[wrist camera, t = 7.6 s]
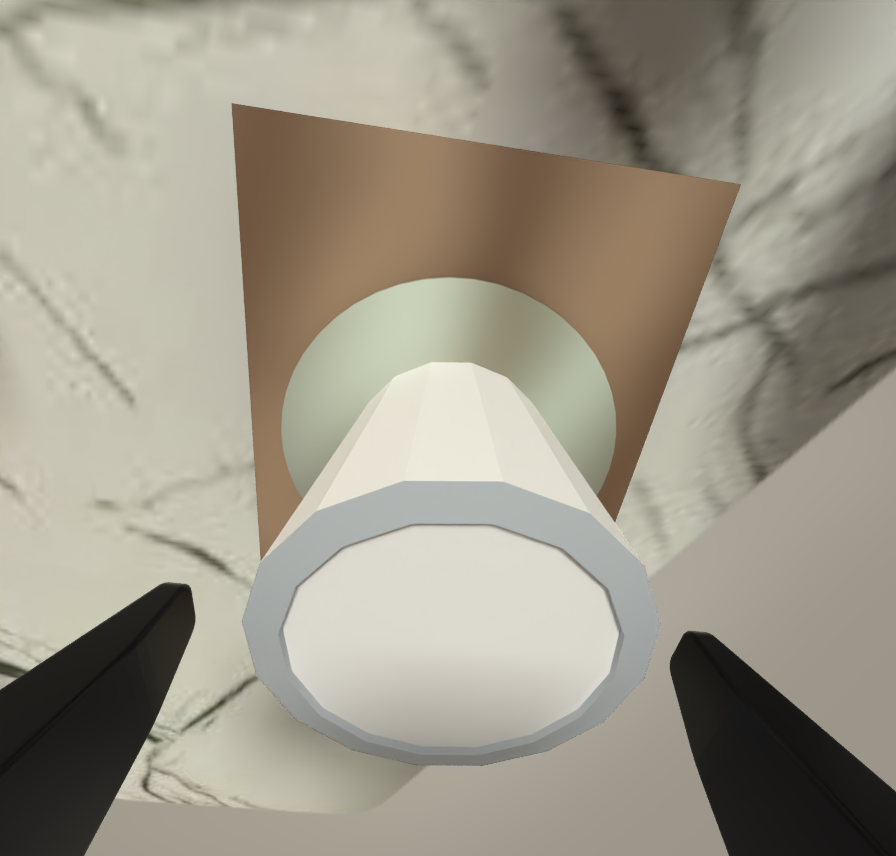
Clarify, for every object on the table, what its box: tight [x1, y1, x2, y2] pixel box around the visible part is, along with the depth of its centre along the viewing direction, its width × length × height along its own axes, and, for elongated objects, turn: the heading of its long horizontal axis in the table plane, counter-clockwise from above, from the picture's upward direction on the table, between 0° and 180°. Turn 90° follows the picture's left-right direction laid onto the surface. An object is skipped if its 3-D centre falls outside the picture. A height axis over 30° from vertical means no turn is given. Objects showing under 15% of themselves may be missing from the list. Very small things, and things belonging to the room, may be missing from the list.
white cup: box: [242, 362, 661, 766], centre depth 11 cm, size 7×7×7 cm
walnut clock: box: [232, 104, 741, 560], centre depth 16 cm, size 12×16×5 cm
